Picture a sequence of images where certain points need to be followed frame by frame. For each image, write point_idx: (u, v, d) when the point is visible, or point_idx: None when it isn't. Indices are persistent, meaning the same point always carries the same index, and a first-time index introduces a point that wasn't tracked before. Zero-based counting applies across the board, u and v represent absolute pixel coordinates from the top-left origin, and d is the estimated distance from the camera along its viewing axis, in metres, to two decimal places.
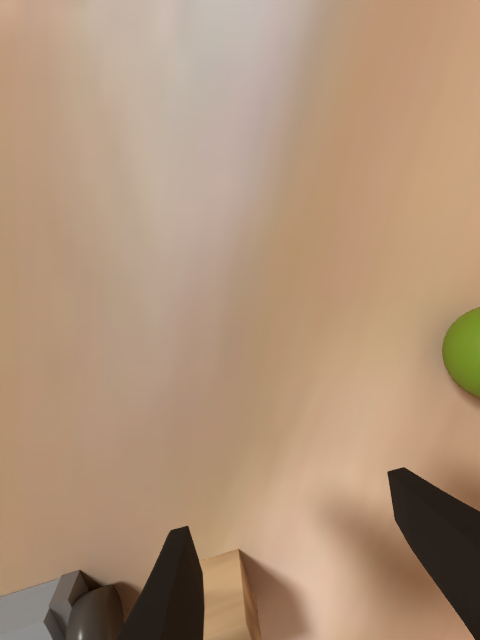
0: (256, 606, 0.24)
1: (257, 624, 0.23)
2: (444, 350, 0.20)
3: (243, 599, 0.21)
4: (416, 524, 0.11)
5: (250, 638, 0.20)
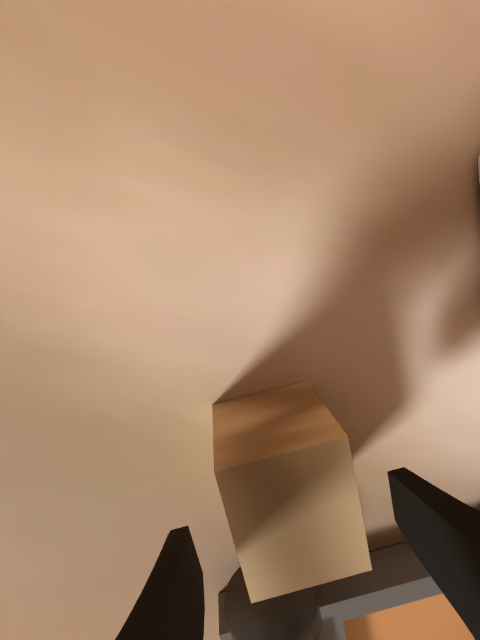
0: (308, 385, 0.16)
1: (306, 404, 0.14)
2: None
3: (215, 446, 0.13)
4: (416, 524, 0.11)
5: (246, 464, 0.11)
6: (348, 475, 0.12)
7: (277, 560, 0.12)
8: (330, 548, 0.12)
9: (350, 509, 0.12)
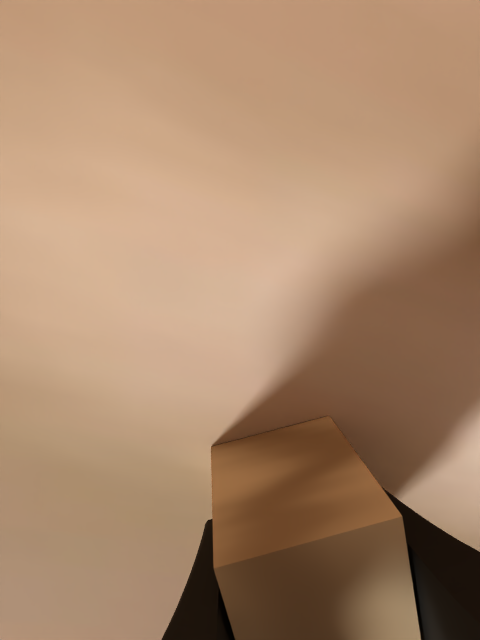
0: (333, 425, 0.12)
1: (333, 456, 0.11)
2: None
3: (216, 519, 0.09)
4: None
5: (259, 557, 0.08)
6: (400, 567, 0.08)
7: None
8: None
9: (402, 611, 0.09)
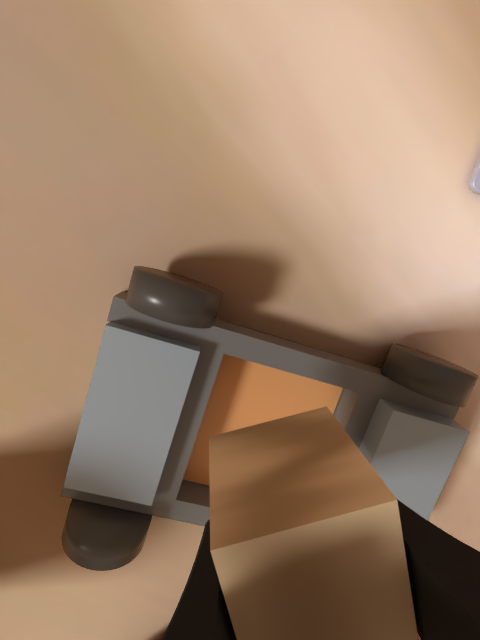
0: (330, 415, 0.12)
1: (330, 444, 0.11)
2: None
3: (213, 505, 0.10)
4: None
5: (255, 540, 0.08)
6: (395, 551, 0.09)
7: None
8: None
9: (397, 595, 0.09)
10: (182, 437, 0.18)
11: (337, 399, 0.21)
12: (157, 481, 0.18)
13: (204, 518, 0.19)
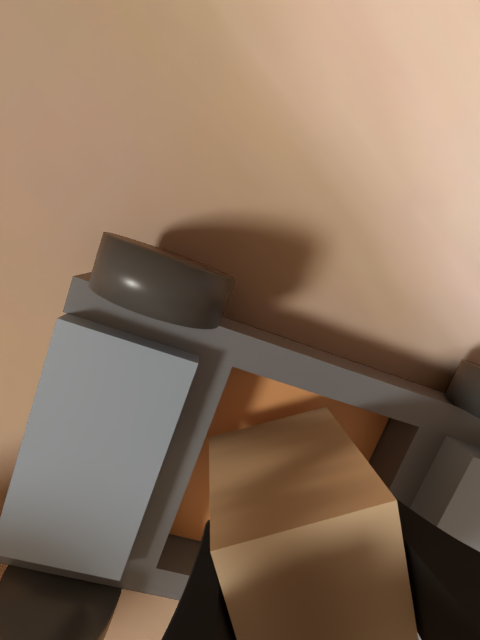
0: (330, 415, 0.12)
1: (330, 444, 0.11)
2: None
3: (213, 506, 0.10)
4: None
5: (255, 540, 0.08)
6: (395, 552, 0.09)
7: None
8: None
9: (397, 596, 0.09)
10: (168, 482, 0.13)
11: (381, 431, 0.15)
12: (129, 547, 0.12)
13: None
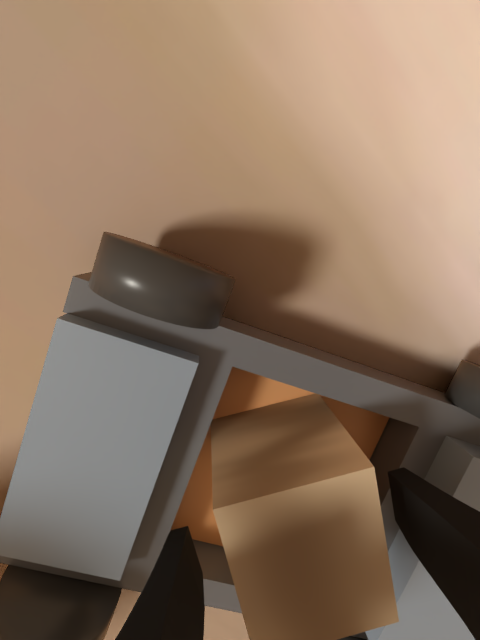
0: (321, 400, 0.14)
1: (319, 424, 0.12)
2: None
3: (214, 475, 0.11)
4: (416, 524, 0.11)
5: (251, 500, 0.09)
6: (373, 512, 0.10)
7: (287, 612, 0.10)
8: (350, 597, 0.10)
9: (375, 552, 0.10)
10: (168, 482, 0.13)
11: (381, 431, 0.15)
12: (129, 547, 0.12)
13: None
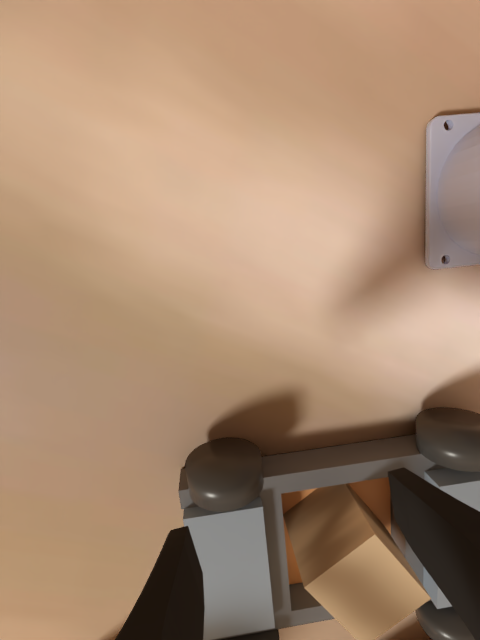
0: None
1: (343, 503, 0.20)
2: None
3: (298, 561, 0.19)
4: (416, 524, 0.11)
5: (321, 575, 0.18)
6: (386, 554, 0.18)
7: (367, 617, 0.19)
8: (397, 597, 0.19)
9: (398, 571, 0.18)
10: (276, 565, 0.21)
11: None
12: (271, 609, 0.21)
13: (320, 615, 0.22)
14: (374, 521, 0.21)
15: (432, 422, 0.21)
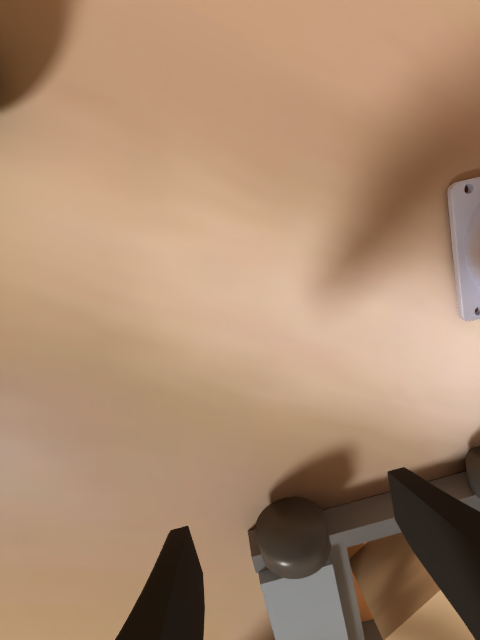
0: None
1: (407, 551, 0.21)
2: None
3: (372, 612, 0.20)
4: (416, 524, 0.11)
5: (398, 628, 0.19)
6: None
7: None
8: (471, 639, 0.20)
9: None
10: (348, 611, 0.23)
11: None
12: None
13: None
14: None
15: None
